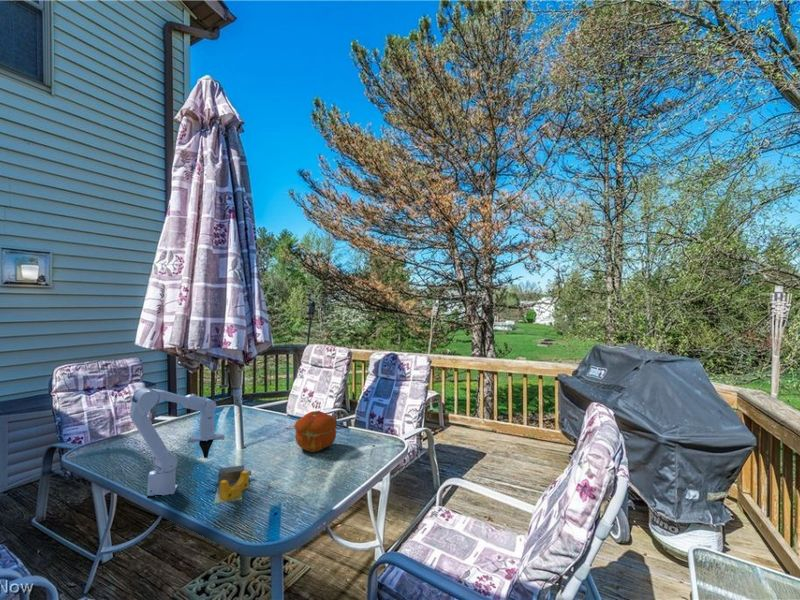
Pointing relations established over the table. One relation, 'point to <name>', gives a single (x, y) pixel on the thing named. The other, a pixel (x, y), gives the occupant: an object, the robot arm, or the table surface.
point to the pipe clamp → (234, 486)
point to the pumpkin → (315, 431)
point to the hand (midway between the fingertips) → (205, 457)
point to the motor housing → (229, 481)
